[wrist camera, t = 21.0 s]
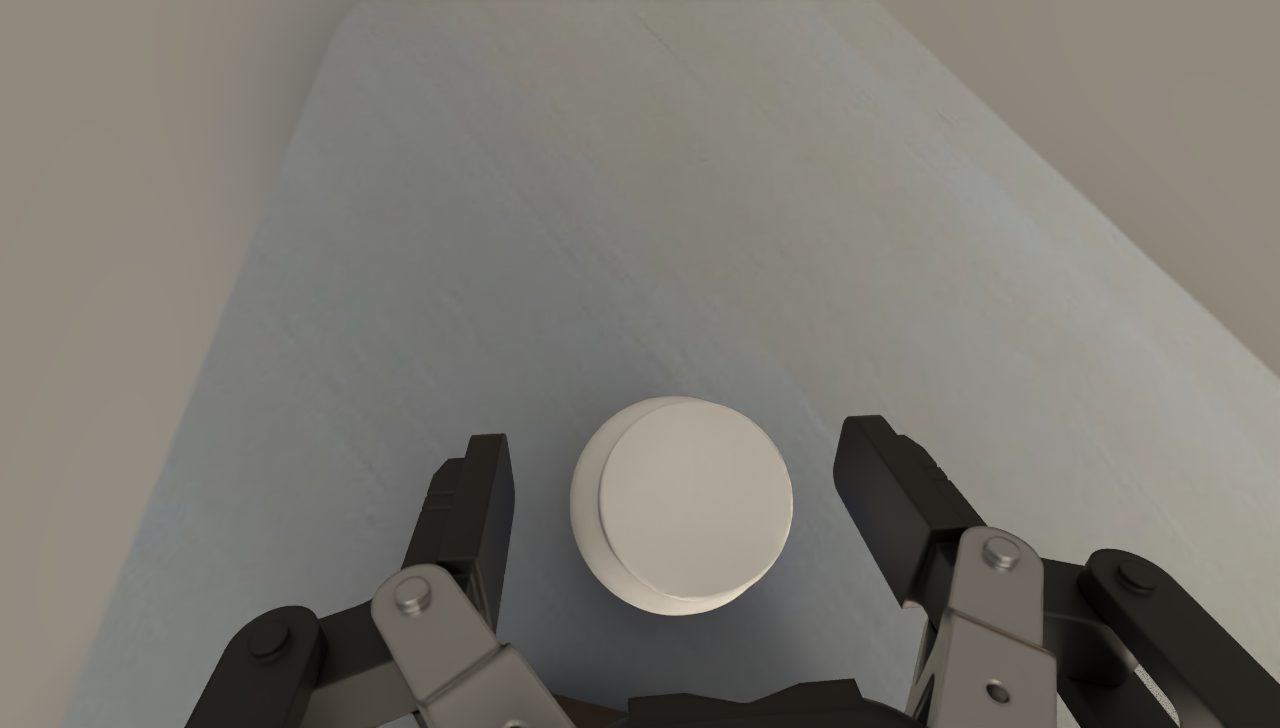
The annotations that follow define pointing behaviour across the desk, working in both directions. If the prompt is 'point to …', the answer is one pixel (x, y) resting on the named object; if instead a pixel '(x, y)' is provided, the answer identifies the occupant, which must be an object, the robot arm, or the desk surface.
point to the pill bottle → (680, 504)
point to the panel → (588, 713)
